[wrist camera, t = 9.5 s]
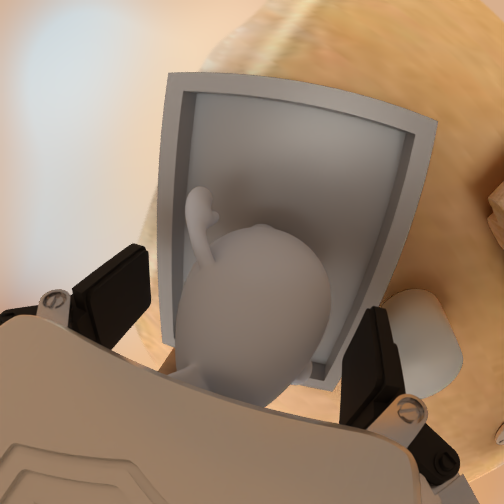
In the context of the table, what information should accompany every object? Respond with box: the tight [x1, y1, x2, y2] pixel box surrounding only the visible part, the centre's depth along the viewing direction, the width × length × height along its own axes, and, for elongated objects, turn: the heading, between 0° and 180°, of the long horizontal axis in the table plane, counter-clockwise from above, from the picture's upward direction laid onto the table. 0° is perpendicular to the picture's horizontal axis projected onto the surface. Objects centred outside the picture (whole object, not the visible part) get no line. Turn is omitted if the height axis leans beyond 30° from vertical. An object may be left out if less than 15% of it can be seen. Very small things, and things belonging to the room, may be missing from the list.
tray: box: [157, 72, 438, 392], centre depth 15 cm, size 13×18×2 cm
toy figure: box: [167, 186, 331, 407], centre depth 11 cm, size 11×6×12 cm, turn 30°
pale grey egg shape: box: [381, 289, 463, 399], centre depth 14 cm, size 5×5×5 cm
